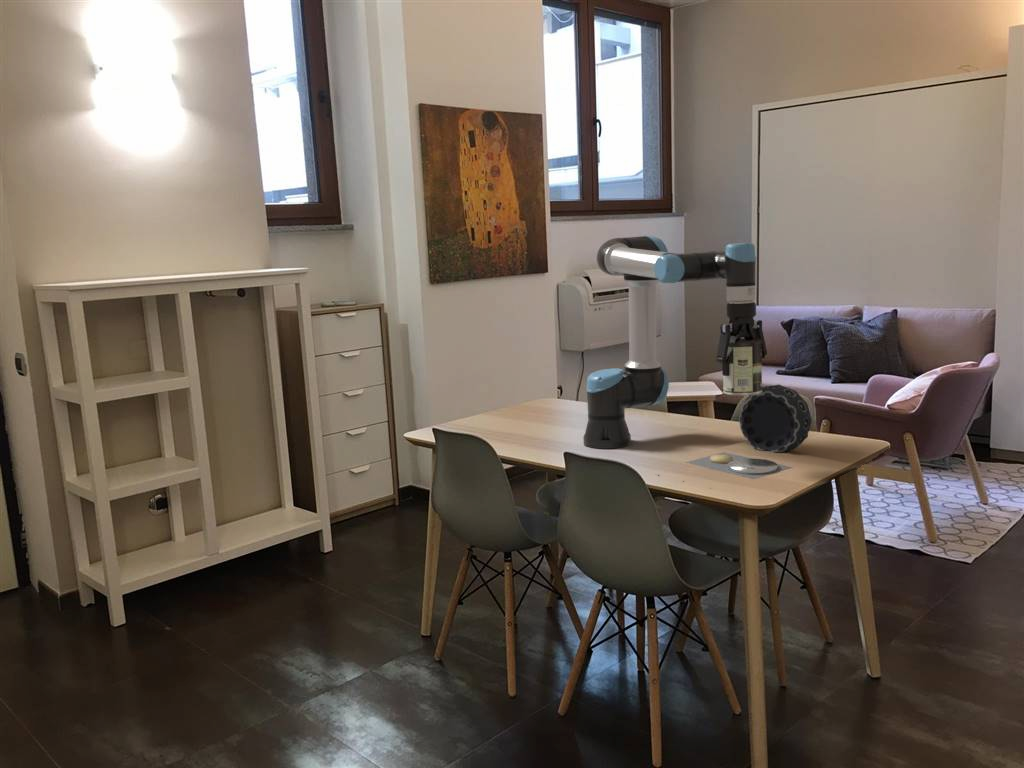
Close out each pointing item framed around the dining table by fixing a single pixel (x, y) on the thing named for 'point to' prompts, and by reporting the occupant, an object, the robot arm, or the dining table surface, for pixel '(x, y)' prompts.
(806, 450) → the dining table surface
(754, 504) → the dining table surface
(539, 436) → the dining table surface
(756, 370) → the coffee can
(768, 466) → the metal dome
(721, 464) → the fitting board
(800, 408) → the dark patterned bowl
